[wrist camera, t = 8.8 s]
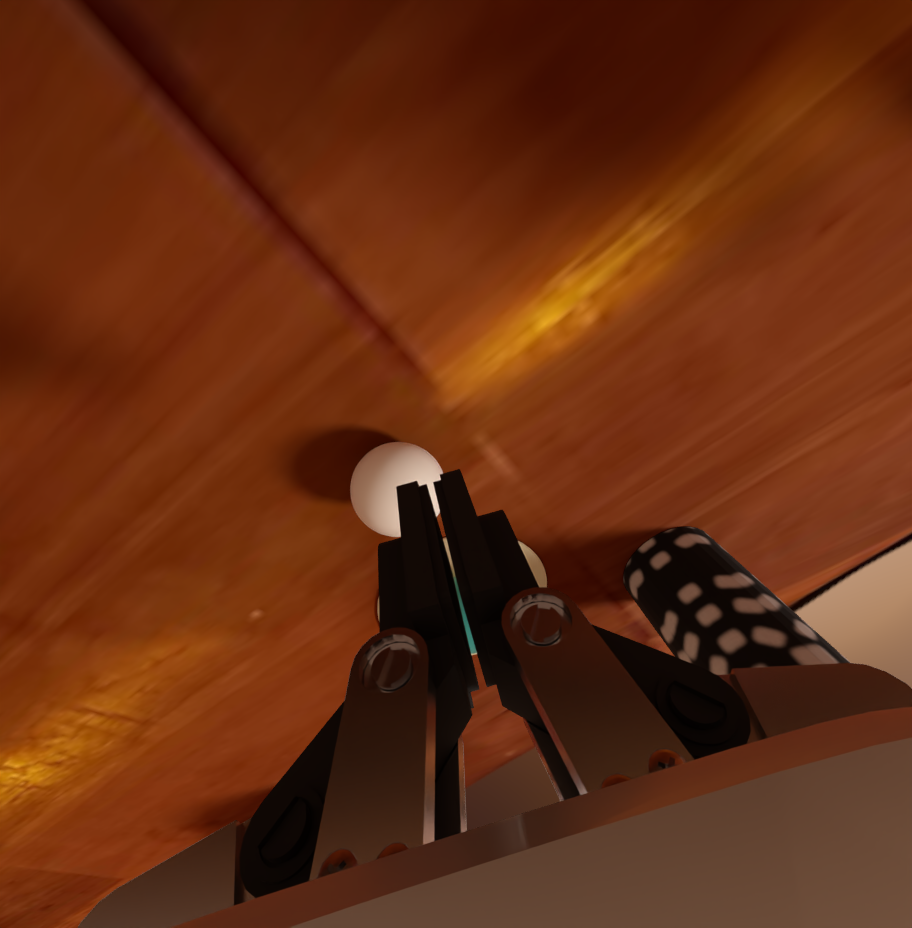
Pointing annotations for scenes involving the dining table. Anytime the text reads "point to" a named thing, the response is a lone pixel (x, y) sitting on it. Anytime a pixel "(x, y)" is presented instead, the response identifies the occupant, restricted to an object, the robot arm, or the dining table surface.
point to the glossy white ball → (390, 483)
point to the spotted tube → (717, 607)
